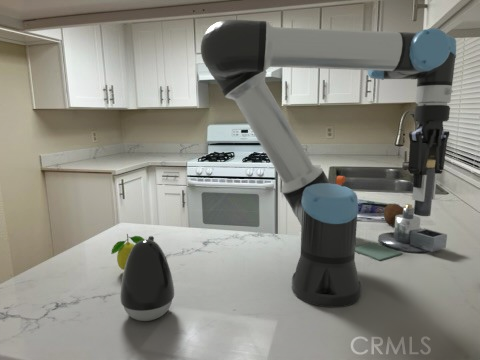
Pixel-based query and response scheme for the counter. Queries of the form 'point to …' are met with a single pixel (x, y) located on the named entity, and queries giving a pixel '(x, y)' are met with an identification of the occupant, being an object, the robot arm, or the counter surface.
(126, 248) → the lemon
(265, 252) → the counter surface
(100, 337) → the counter surface
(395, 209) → the potato
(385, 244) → the base
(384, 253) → the mat
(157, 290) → the black egg-shaped pod
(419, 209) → the gold capped bottle
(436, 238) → the grey cylinder with box
